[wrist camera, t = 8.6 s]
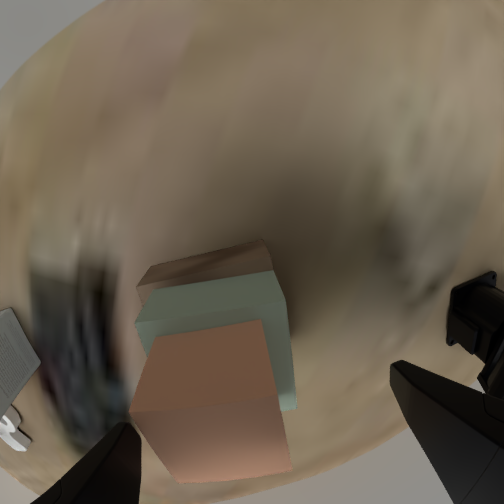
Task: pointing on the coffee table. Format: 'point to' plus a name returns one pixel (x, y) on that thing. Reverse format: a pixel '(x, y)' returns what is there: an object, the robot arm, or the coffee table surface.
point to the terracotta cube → (212, 405)
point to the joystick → (13, 431)
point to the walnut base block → (207, 267)
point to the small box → (14, 359)
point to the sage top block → (226, 318)
